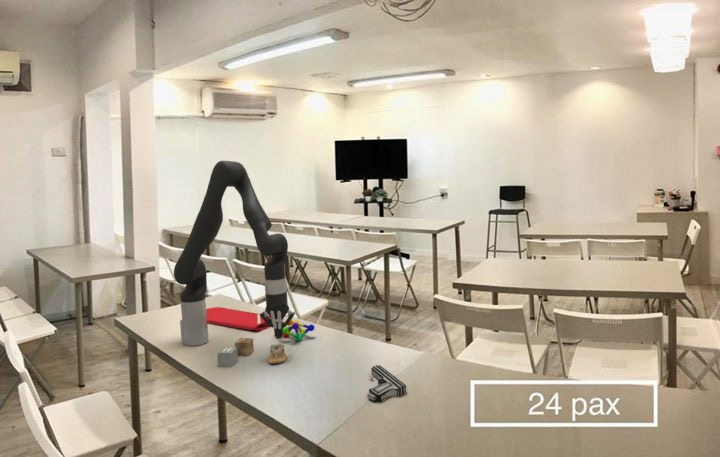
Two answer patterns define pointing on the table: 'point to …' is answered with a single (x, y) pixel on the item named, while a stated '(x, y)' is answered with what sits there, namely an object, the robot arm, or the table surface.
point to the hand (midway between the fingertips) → (279, 338)
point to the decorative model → (297, 330)
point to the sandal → (277, 354)
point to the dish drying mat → (236, 318)
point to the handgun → (385, 385)
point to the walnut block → (244, 346)
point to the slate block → (227, 357)
